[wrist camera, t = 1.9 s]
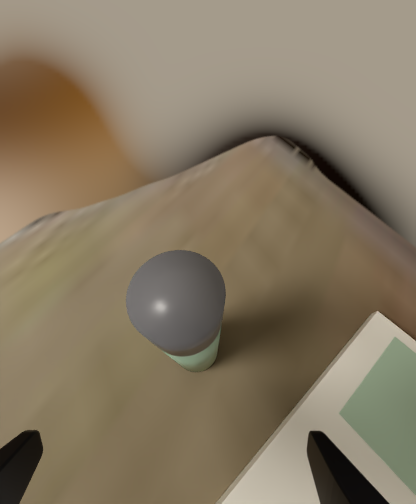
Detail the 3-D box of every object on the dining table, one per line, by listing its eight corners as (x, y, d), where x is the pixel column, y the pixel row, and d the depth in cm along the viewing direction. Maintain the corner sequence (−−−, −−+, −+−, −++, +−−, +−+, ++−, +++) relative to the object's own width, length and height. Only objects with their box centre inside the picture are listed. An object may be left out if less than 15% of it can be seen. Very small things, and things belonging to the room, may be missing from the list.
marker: (193, 382, 18) (162, 370, 7) (167, 345, 19) (108, 286, 8) (226, 351, 19) (246, 297, 8) (199, 318, 21) (186, 235, 10)
